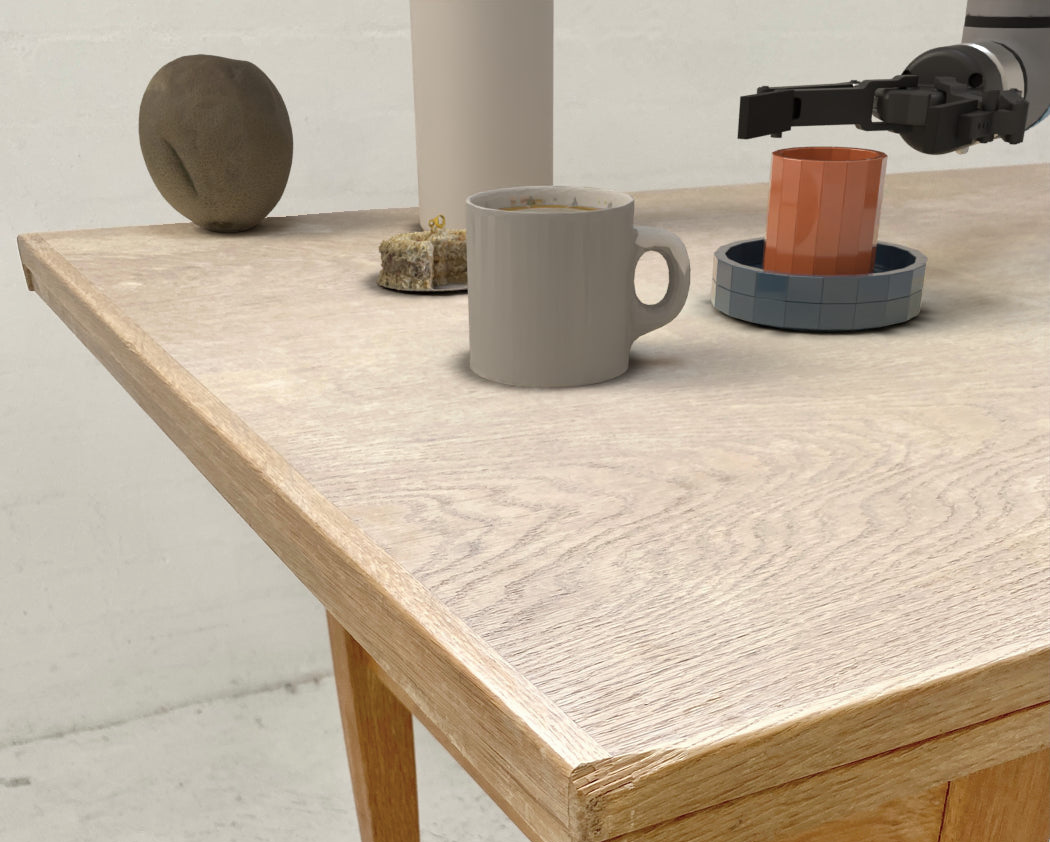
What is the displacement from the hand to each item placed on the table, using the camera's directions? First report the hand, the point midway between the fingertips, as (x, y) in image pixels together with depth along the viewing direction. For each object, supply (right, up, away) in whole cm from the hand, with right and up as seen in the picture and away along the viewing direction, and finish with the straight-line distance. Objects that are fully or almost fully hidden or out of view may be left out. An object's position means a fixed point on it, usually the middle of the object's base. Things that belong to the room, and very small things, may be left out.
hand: (833, 124), depth 86 cm
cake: (-27, -6, +16) cm, 32 cm away
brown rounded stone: (-49, +6, +37) cm, 62 cm away
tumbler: (0, -10, +6) cm, 12 cm away
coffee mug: (-17, -18, -5) cm, 25 cm away
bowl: (0, -10, +7) cm, 13 cm away
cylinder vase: (-24, +6, +36) cm, 43 cm away
